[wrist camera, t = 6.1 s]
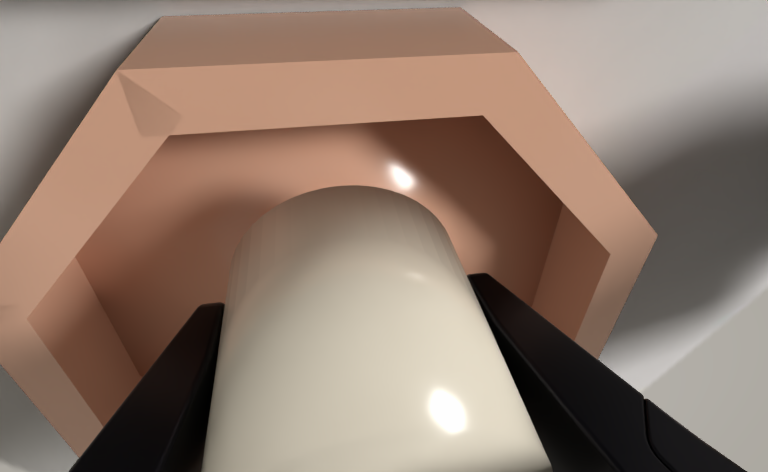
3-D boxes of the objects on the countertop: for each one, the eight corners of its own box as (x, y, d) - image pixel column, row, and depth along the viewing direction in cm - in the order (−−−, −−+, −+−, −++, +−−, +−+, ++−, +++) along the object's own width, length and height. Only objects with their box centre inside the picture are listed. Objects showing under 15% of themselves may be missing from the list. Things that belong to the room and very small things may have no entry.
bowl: (643, 1, 10) (752, 41, 8) (519, 380, 19) (552, 453, 16) (-84, 24, 8) (-235, 85, 6) (156, 434, 17) (135, 524, 14)
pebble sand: (466, 175, 8) (599, 400, 5) (443, 337, 11) (516, 553, 7) (204, 197, 7) (135, 472, 4) (251, 362, 10) (233, 610, 7)
